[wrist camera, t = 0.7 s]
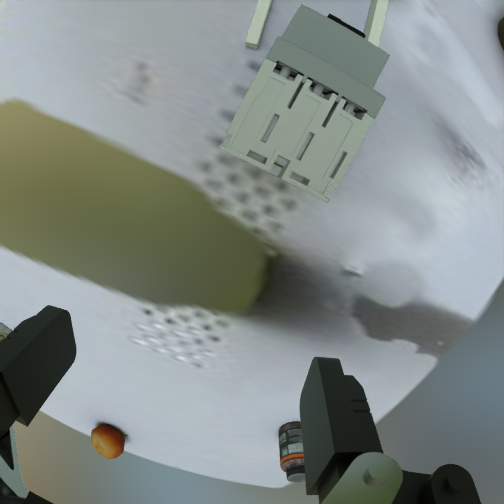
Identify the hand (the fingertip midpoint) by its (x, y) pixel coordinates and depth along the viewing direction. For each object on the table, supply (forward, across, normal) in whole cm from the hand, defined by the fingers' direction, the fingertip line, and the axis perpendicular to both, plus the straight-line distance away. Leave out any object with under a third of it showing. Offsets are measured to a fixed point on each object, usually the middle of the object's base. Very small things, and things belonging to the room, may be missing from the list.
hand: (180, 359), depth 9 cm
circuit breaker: (+26, -4, -12) cm, 29 cm away
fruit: (+30, +23, +53) cm, 65 cm away
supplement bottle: (+31, -15, +41) cm, 54 cm away
